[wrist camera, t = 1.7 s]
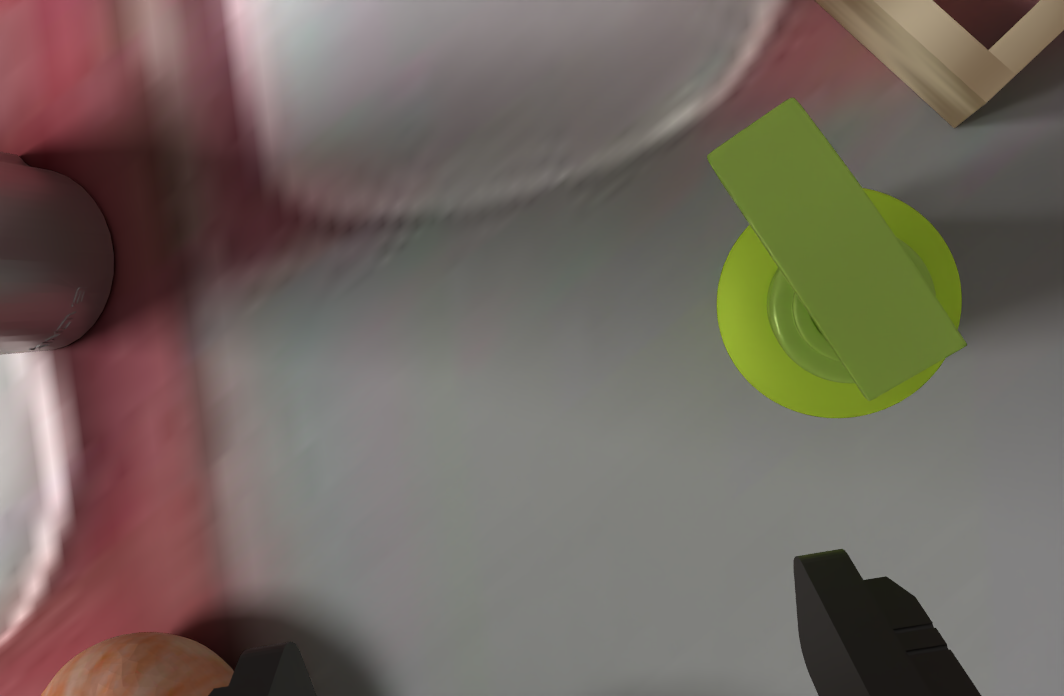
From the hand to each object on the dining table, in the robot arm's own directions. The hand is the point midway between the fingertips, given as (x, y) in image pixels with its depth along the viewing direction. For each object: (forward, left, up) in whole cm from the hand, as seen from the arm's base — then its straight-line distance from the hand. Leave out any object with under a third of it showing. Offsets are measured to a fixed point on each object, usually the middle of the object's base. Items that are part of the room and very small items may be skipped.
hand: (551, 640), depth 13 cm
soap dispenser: (-1, +7, -23) cm, 24 cm away
